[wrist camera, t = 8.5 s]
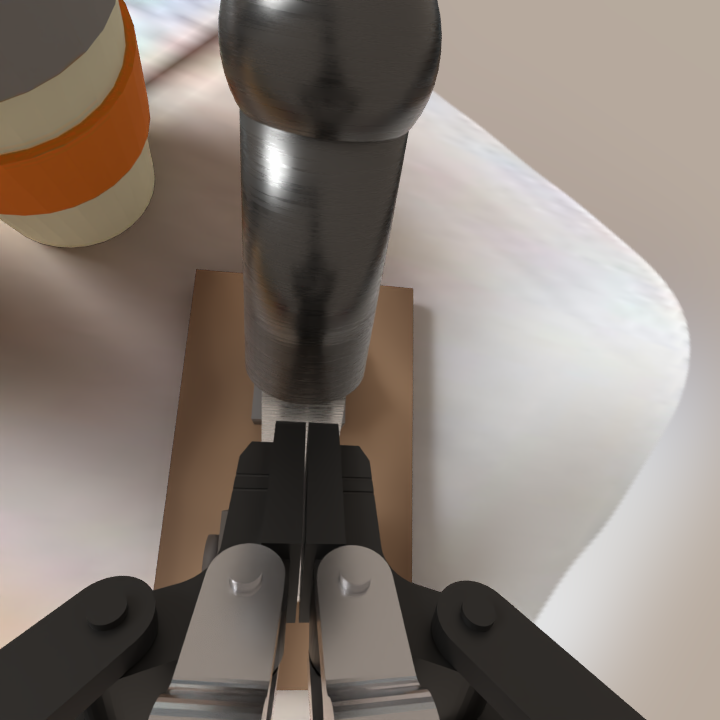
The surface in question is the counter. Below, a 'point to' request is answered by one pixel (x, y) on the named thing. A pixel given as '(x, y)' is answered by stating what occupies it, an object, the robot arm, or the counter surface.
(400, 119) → the lever
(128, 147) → the reusable coffee cup
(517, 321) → the counter surface
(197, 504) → the nutcracker bench
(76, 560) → the counter surface
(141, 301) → the counter surface
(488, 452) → the counter surface
